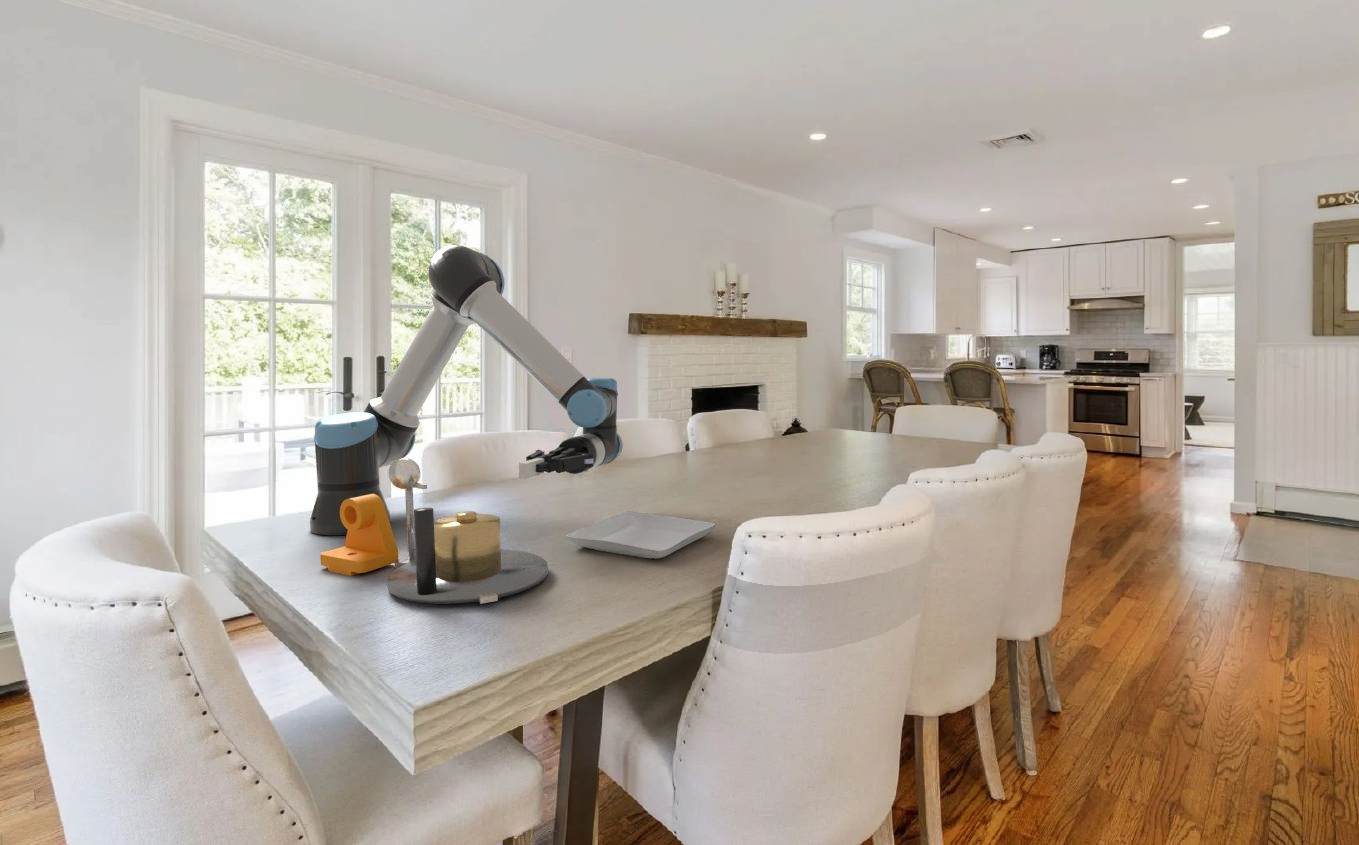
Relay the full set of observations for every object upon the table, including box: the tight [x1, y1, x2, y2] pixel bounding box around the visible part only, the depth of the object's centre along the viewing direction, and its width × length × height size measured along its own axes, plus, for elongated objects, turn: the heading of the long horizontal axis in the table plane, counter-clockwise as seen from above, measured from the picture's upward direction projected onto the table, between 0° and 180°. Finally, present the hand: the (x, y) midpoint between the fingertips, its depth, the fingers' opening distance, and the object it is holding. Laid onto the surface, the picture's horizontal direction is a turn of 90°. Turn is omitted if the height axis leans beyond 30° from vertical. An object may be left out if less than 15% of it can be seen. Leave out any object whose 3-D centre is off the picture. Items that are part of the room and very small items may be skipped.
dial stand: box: [387, 457, 428, 570], centre depth 116 cm, size 7×4×18 cm, turn 83°
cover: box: [434, 510, 502, 582], centre depth 108 cm, size 10×10×9 cm
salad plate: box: [565, 510, 716, 559], centre depth 131 cm, size 21×21×3 cm
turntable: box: [386, 506, 549, 605], centre depth 108 cm, size 24×24×13 cm
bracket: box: [319, 494, 400, 577], centre depth 116 cm, size 11×7×12 cm, turn 63°
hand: (522, 470), depth 123 cm, fingers closed
